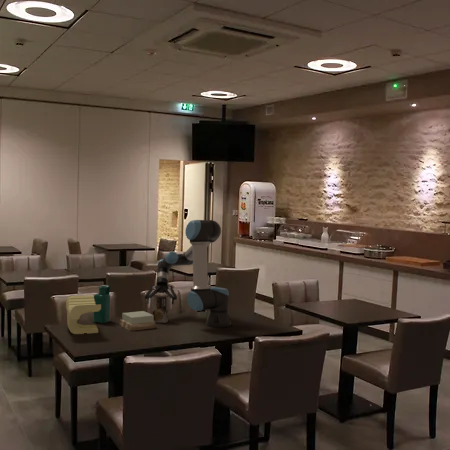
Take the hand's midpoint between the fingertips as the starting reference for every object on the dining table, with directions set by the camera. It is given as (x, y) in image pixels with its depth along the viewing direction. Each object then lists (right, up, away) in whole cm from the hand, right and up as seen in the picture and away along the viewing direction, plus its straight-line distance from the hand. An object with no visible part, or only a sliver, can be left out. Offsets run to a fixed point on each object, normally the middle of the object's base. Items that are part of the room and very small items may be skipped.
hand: (160, 307), depth 342 cm
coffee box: (0, -9, +1) cm, 9 cm away
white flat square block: (-12, -6, -14) cm, 19 cm away
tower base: (-12, -10, -14) cm, 21 cm away
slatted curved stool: (-41, -9, -28) cm, 51 cm away
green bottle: (-36, -8, -3) cm, 37 cm away
